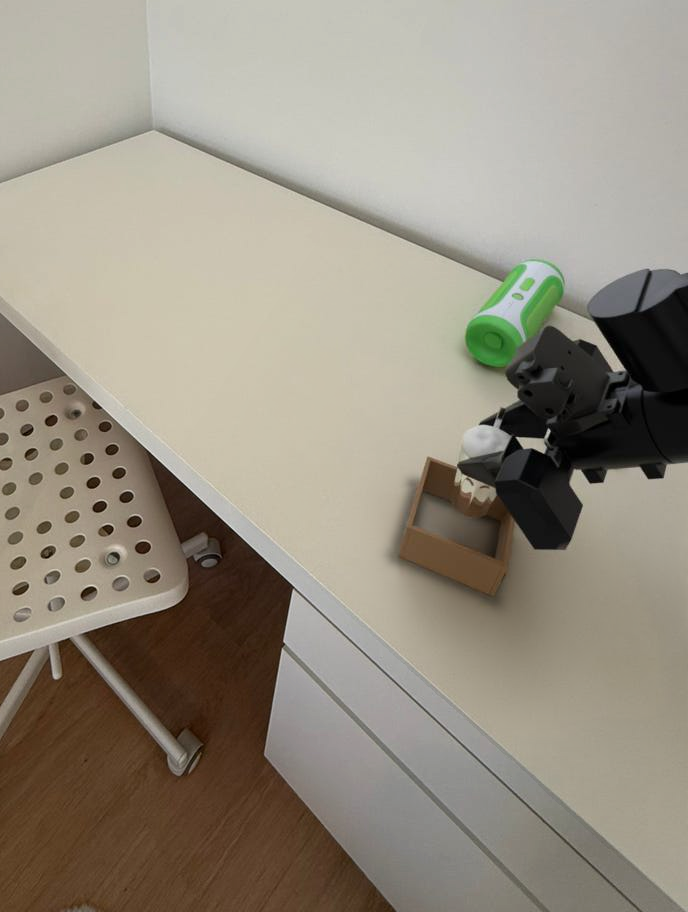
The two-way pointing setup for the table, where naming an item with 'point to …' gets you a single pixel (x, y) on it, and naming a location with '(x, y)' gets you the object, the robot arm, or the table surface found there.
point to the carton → (449, 554)
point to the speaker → (514, 312)
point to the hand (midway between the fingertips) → (471, 447)
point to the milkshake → (469, 492)
